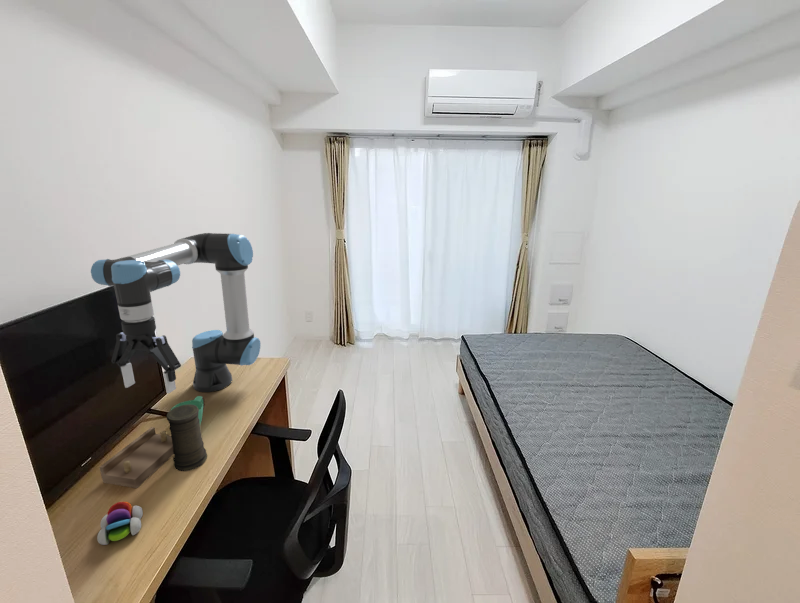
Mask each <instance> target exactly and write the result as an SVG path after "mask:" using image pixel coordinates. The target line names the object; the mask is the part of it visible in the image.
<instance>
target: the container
mask: <svg viewBox="0 0 800 603" xmlns="http://www.w3.org/2000/svg"><path fill="white" fill-rule="evenodd" d="M171 409H172V408H171ZM171 409H170V410H169V411H168V412H167V414H166V420H167V422H168V424H169V428H168V429H169V431H170V436H171V438H172V444H173V453H174V454H173V456H174V457H173V467H174V469H175V470H177V471H178V472H189V471H192V470H195V469H197V468H200V467H201V466H203V464H205V462H206V461H207V459H208V454H207V449H205V442H204V441H203V435H202V430H201V429H202V428H201V425H200V420H199V418H198V412H199V409H198V407H197V406H195V405H191V404H188V405H181V406H178V407H176V408H174V409H172V410H171Z"/></svg>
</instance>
